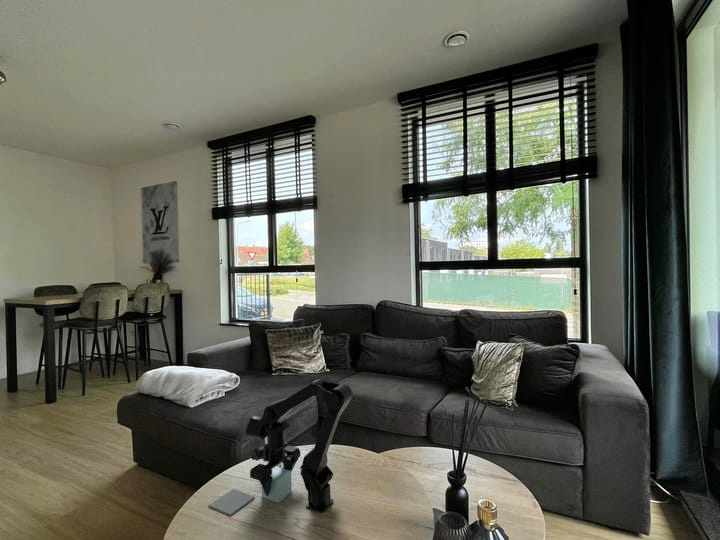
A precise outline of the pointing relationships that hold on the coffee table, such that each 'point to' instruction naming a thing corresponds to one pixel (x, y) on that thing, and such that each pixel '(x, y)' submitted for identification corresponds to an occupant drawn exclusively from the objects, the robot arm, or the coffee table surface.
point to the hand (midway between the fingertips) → (276, 488)
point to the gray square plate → (231, 502)
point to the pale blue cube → (279, 484)
